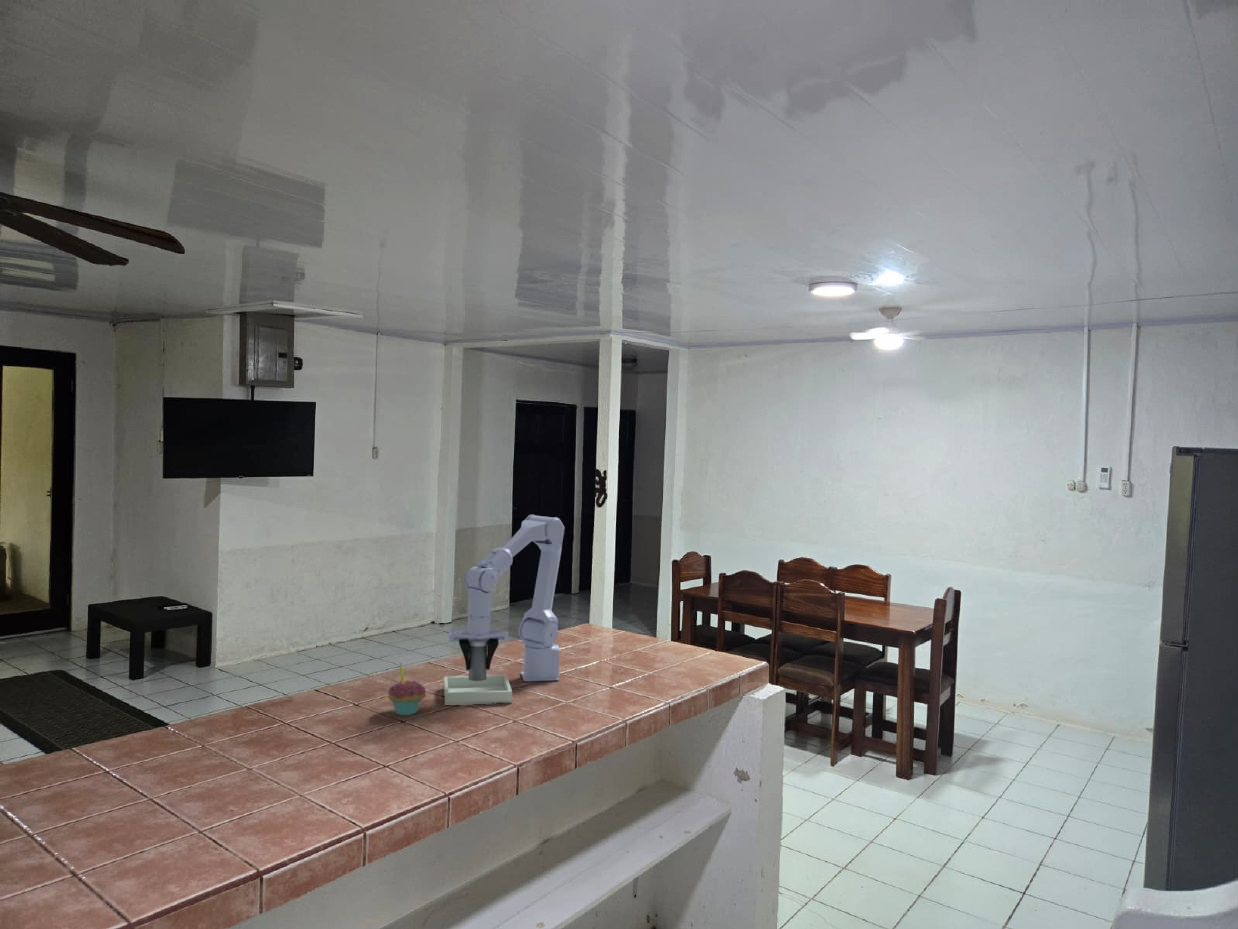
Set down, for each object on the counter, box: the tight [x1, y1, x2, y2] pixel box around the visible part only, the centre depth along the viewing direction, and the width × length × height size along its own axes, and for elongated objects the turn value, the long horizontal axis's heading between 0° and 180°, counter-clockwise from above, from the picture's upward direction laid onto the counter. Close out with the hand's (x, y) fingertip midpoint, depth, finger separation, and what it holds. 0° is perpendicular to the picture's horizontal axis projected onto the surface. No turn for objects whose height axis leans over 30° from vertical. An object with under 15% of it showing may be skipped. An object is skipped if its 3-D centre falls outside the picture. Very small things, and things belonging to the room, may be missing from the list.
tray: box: [443, 674, 513, 706], centre depth 206 cm, size 16×14×3 cm
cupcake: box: [387, 663, 427, 716], centre depth 192 cm, size 9×8×12 cm
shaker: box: [468, 640, 488, 681], centre depth 206 cm, size 5×5×10 cm
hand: (477, 668), depth 206 cm, fingers closed on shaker, 4 cm apart
